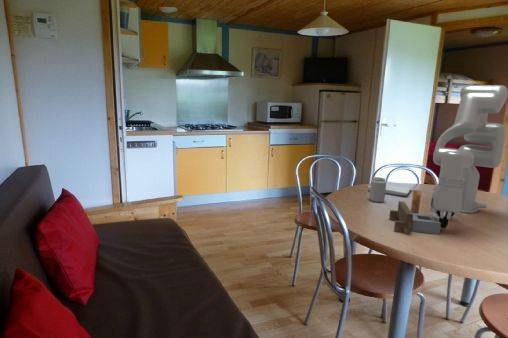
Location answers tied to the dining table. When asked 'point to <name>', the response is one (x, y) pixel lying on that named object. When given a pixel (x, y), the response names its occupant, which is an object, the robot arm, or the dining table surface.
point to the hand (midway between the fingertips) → (442, 227)
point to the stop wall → (402, 218)
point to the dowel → (416, 201)
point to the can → (377, 189)
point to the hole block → (425, 223)
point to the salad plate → (397, 188)
